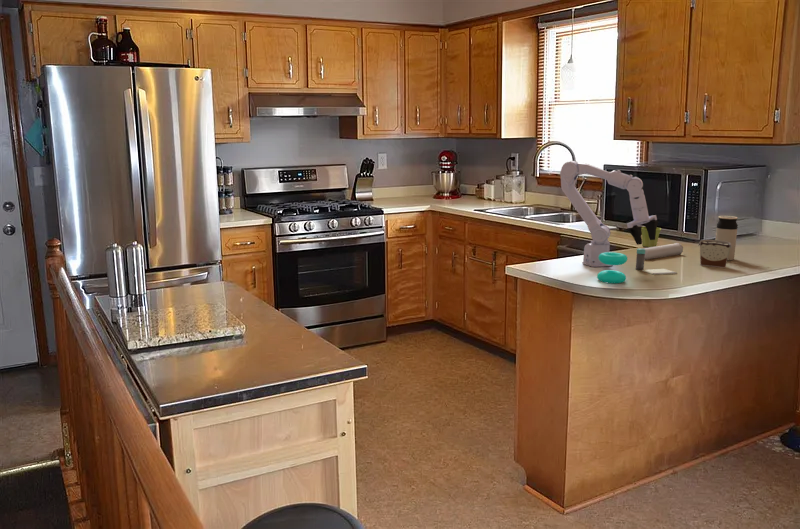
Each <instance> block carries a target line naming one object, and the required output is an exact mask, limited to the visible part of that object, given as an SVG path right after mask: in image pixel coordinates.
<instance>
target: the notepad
mask: <svg viewBox="0 0 800 529" xmlns="http://www.w3.org/2000/svg"><path fill="white" fill-rule="evenodd" d="M641 272H643V273H644V272H645V273H647V274H650V275H654V276H662V275H663V276H664V275H666V276H667V275H678V272H677V271H674V270H669V269H667V268H655V269H653V268H652V269H644V270H641Z"/></svg>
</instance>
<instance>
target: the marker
mask: <svg viewBox="0 0 800 529" xmlns="http://www.w3.org/2000/svg"><path fill="white" fill-rule="evenodd" d="M645 250H646V249H643V248H637V249H636V259H635V270H638V271H642V270H645Z"/></svg>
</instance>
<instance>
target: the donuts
mask: <svg viewBox="0 0 800 529" xmlns="http://www.w3.org/2000/svg"><path fill="white" fill-rule="evenodd" d="M598 258H599V260H600V262H602V263H604V264H607V265H613V266H621V265H624V264H626V263H627V262H628V256H627V255H626V254H625V253H621V252H614V251H609V252H604V253H601V254H600V255H599V257H598ZM625 274H626V273H623V272H622V271H619V270H613V269H612V270H611V269H606V270H605V269H604V270H601V271H599V272H598V273H597V275H596V278H597V280H598V281H599V280H600V281H599V282H601V281H602V283H605V282H608V283H607V284H621V283H624V282H625V281H626V279H627V276H626V275H625Z"/></svg>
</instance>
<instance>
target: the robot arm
mask: <svg viewBox="0 0 800 529" xmlns="http://www.w3.org/2000/svg"><path fill="white" fill-rule="evenodd" d="M559 175H560V176H559V177H560V188H561V191H562V193H564V195H565V196H566V198H567V199H568V200H569V202H570V203H571V205H572V206H573V207H574V209H575V210H576V212H577V213H578V215H579V216H580V217H581V219H582V220H583V221H584V223H585V224H586V226H587V229H588V231H589V232H590V234H591V241H590V243H586V244H585V245H584V248H583V258H582V259H583V261H581V263H582V264H584V265H587V266H589V267H591V268H594V267H613V266H614V265H607V264H604V263H602V262H600V260H599V258H598V257H599V255H600V254H601V253H604V252H610V247H611V246H610V245H611V244H610V243H611V242H610V240H609V238H610V236H611V234H612V233H611V229H610V227H608V226H607V225H606V224H604V223H603V222H602V221H601V220H600V219H599V218H598V217H597V215H596V214H595V212H594V211H593V209H592V208H591V207H590V206H589V204H588V203H587V201H586V200H585V199H584V197H583V196H582V194H581V193H580V192H579V190H578V188H577V187H576V182H577V178H578V177H579V176H581V175H590V176H592V177H596V178H600V179H603V180H606V182H607V184H608V185H610V186H614V187H616V188H618V189H621V190H627V192H628V195H629V196H628V197H629V202H630V207H631V213H632V218H633V220H632V221H630V222H626V227H627V232H629V233H630V235H631V236H632V238H633V239H634V241H635V244H636V245H638V246H639V245H642V232H641V228H642V227H643V226H644V227H646V229H647V231H648V235H649V239H650V240H655V236H656V228H658V225H659V221H658V218H657V214H655V215H653V214H652V215H649V209H648V205H647V201H646V195H645V192H644V189H643V188H644V183H643V181H642V179H641V178H639V177H638V176H634V175H632V174H627V173H623V172H622V171H621V169H620V170H619V169H617V170H612V171H607V170H604V169H602V168H599V167H596V166H595V165H591V164H589V163H584V162H580V161H579V162H578V161H576V160H570V161H567V162H565V163H563V165H562V166H561V169H560V173H559ZM640 225H643V226H640Z"/></svg>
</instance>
